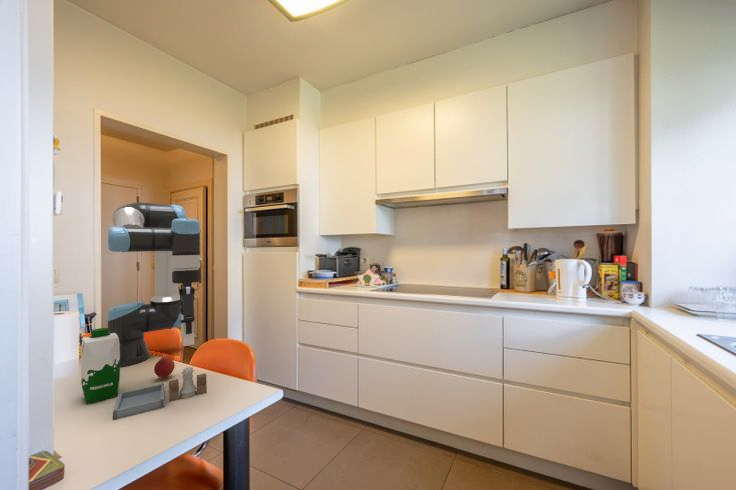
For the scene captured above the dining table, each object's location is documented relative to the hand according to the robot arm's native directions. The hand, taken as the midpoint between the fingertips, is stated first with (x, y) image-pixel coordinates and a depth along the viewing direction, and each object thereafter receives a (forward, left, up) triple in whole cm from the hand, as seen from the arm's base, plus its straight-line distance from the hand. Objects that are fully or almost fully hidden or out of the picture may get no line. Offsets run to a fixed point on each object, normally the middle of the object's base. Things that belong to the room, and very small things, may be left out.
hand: (187, 340), depth 93 cm
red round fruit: (-20, -6, -17) cm, 27 cm away
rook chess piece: (0, 0, -17) cm, 17 cm away
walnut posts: (0, 0, -17) cm, 17 cm away
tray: (-2, -12, -17) cm, 20 cm away
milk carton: (-15, -22, -17) cm, 32 cm away
